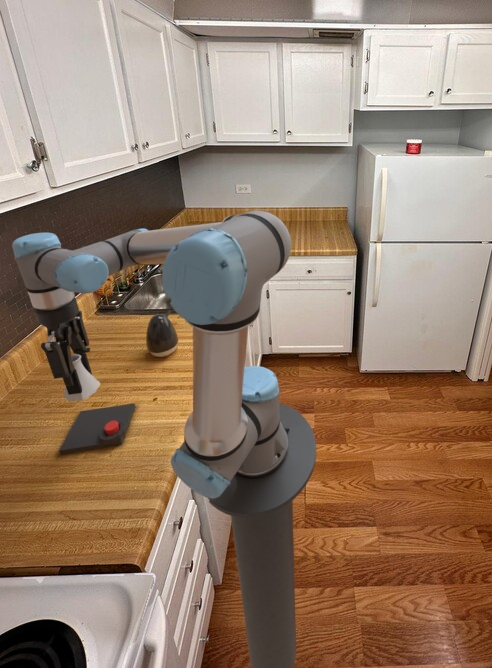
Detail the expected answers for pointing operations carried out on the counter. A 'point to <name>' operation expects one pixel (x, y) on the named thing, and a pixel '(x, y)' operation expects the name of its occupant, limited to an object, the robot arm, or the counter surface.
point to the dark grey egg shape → (161, 335)
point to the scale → (97, 428)
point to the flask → (82, 381)
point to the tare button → (111, 427)
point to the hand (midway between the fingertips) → (80, 383)
